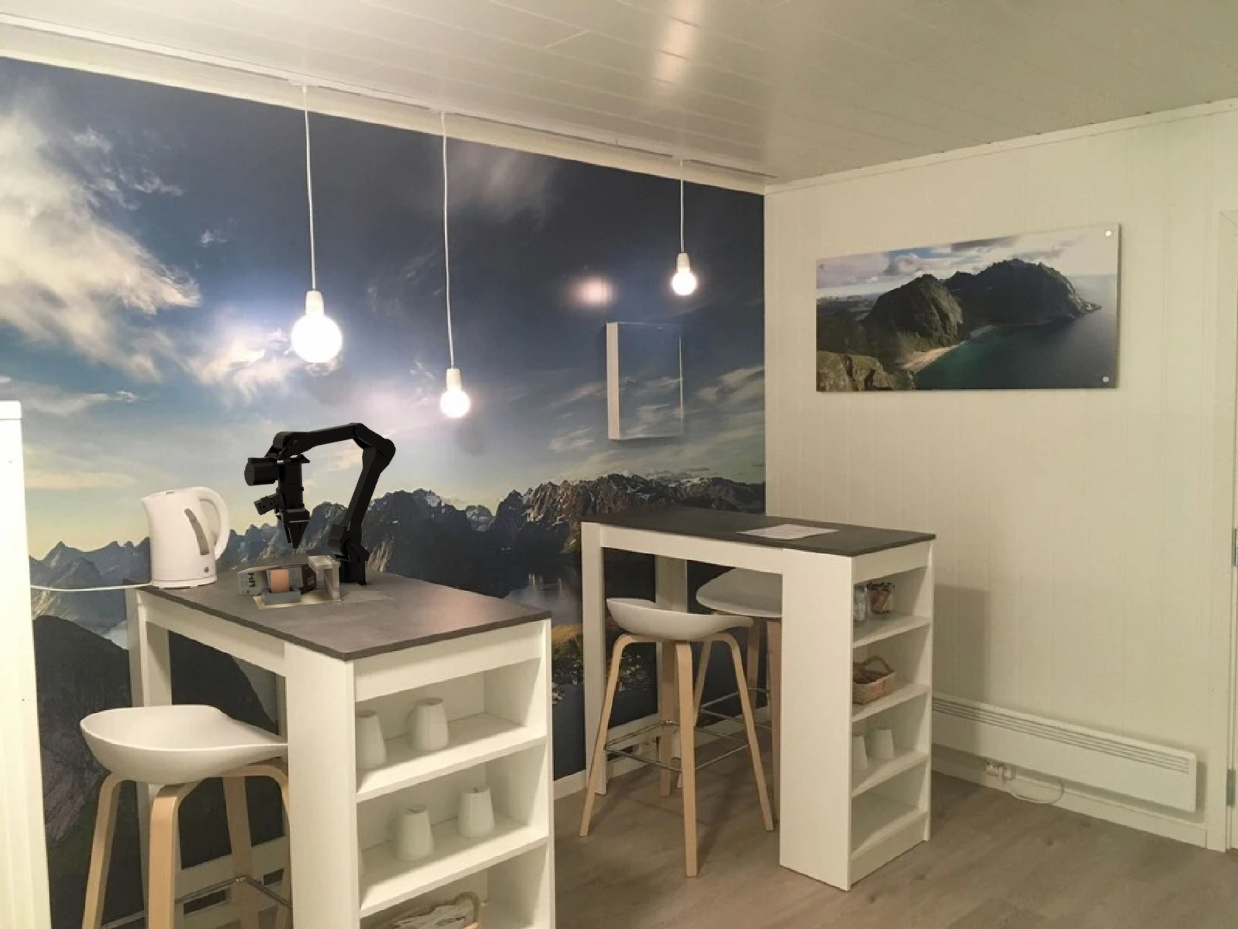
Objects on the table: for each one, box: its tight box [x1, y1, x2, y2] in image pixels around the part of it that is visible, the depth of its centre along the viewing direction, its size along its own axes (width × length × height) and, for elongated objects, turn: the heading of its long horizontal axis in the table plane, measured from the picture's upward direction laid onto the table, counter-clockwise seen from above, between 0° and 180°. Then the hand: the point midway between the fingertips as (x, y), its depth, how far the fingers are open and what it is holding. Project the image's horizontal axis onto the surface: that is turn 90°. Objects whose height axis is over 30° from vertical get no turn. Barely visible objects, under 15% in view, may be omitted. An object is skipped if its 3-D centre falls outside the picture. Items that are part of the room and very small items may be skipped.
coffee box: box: [236, 562, 318, 596], centre depth 240 cm, size 9×6×16 cm
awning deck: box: [252, 554, 342, 611], centre depth 231 cm, size 18×15×10 cm
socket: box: [260, 585, 301, 606], centre depth 230 cm, size 8×8×2 cm
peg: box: [270, 569, 290, 593], centre depth 229 cm, size 4×4×7 cm
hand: (292, 545), depth 240 cm, fingers open, 9 cm apart
